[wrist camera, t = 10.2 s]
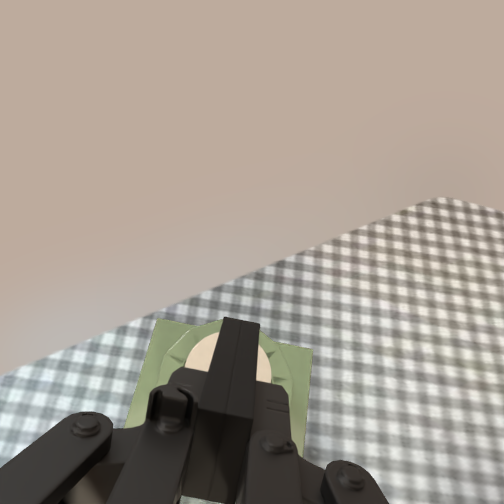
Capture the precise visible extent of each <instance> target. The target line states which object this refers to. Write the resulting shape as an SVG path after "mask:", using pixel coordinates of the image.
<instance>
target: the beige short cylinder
mask: <svg viewBox="0 0 504 504" xmlns="http://www.w3.org/2000/svg"><path fill="white" fill-rule="evenodd" d="M218 335H219V332H218V333H214V334H211V335H209V336H207V337H205V338H204V339H202V340H201V341H200V342H198V343H197V344H196V345H195V346H194V348H193V349H192V350H191V352H190V353H189V355H188V358H187V360H186V363H185V367H187V368H192V369H197V370H202V371H207V372H208V370H209V366H210V363H211V360H212V356H213V353H214V349H215V346H216V342H217V339H218ZM271 377H272V375H271V366H270V362H269V359H268V357H267V355H266V353H265V352H264V350H263V349H262V347H261V346H260V345H259V346H258V361H257V376H256V380H257V381H262V382H267V383H271Z"/></svg>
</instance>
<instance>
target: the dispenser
mask: <svg viewBox="0 0 504 504" xmlns="http://www.w3.org/2000/svg"><path fill="white" fill-rule="evenodd" d="M222 322H223V319H222V320H217V321H214V322H211V323H207V324H204V325H201V326H195V325H190V324H185V323H180V322H175V321H170V320H165V319H160V318H158V319H157V321H156V325H155V328H154V331H153V334H152V338H151V341H150V344H149V347H148V351H147V354H146V357H145V360H144V364H143V367H142V370H141V373H140V376H139V380H138V383H137V386H136V389H135V393H134V396H133V399H132V402H131V406H130V409H129V412H128V415H127V419H126V422H125V425H124V428H132V427H136V426H140V425H142V424H144V421H145V418H146V411H147V405H148V399H149V393H150V392H151V391H152V390H153V389H154V388H155V387H158V386H160V385H166V384H167V383H168V381H169V378H170V376H171V374H172V372H174V371H175V370H177V369H178V368H180V367H181V366H182V367H185V363H186V360H187V358H188V355H189V353H190V352H191V350H192V349H193V348H194V346H195V345H196V344H197V343H198V342H200V341H201V340H202V339H204V338H205V337H207V336H209V335H211V334H214V333H218V332H220V329H221V325H222ZM259 345H260V346H261V347H262V349H263V350H264V352H265V353H266V355H267V357H268V359H269V362H270V366H271V375H272V377H271V383H272V384H277V385H282V386H283V388H284V389H285V391H286V392H287V393H288V395H289V409H290V413H289V414H290V423H291V437H292V440H293V441H294V443H295V444H296V446H297V449H298V454H299V455H300V456H301V457H302V458H303V451H304V441H305V430H306V420H307V409H308V399H309V388H310V377H311V367H312V356H313V349H309V348H304V347H299V346H294V345H289V344H284V343H279V342H274V341H272V340H271V339H270V338H269V337H267V336H266V335H265V334H264V333H263V332H261V331H260V330H259Z"/></svg>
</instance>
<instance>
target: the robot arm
mask: <svg viewBox="0 0 504 504" xmlns="http://www.w3.org/2000/svg"><path fill="white" fill-rule="evenodd" d="M259 330H260V324H258V323H254V322H249V321H244V320H239V319H234V318H229V317H224V318H223V322H222V325H221V329H220V332H219V335H218V339H217V342H216V346H215V349H214V353H213V356H212V360H211V363H210V366H209V370H208V372H207V371H202V370H197V369H192V368H187V367H182V366H181V367H180V368H178V369H177V370H175V371H174V372H172V374H171V376H170V378H169V381H168V383H167V384H166V385H160V386H158V387H155V388H154V389H153V390H152V391H151V392H150V393H149V399H148V405H147V411H146V418H145V421H144V424H142V425H140V426H136V427H132V428H117V429H113V423H112V422H111V420H110V419H109V418H108V417H107V416H105V415H103V414H101V413H96V412H79V413H75V414H72V415H70V416H68V417H66V418H64V419H63V420H62V421H60V422H59V423H58V424H56V425H55V426H54V427H53V428H51V429H50V430H49V431H47V432H46V433H45V434H44V435H42V436H41V437H40V438H38V439H37V440H36V441H35V442H33V443H32V444H31V445H29V446H28V447H27V448H26V449H24V450H23V451H22V452H20V453H19V454H18V455H17V456H15V457H14V458H13V459H11V460H10V461H9V462H7V463H6V464H5V465H4V466H2V467H1V468H0V504H180V499H181V495H184V496H189V497H194V498H198V499H203V500H208V501H213V502H218V503H223V504H235V501H236V504H389V503H388V501H387V500H386V498H385V496H384V495H383V493H382V491H381V490H380V488H379V486H378V485H377V483H376V481H375V480H374V478H373V477H372V476H371V475H370V474H369V472H368V471H366V470H365V469H363V468H362V467H361V466H359V465H357V464H354V463H352V462H349V461H343V460H338V461H332V462H331V463H329V464H328V465H327V467H326V469H325V470H324V469H322V468H320V467H318V466H315V465H313V464H311V463H309V462H308V461H306V460H305V459H303V458H302V457H301V456H300V455H299V454H298V449H297V446H296V444H295V443H294V441H293V440H292V437H291V423H290V414H289V413H290V409H289V395H288V393H287V392H286V391H285V389H284V388H283V386H282V385H277V384H272V383H267V382H262V381H257V380H256V376H257V361H258V346H259Z"/></svg>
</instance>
